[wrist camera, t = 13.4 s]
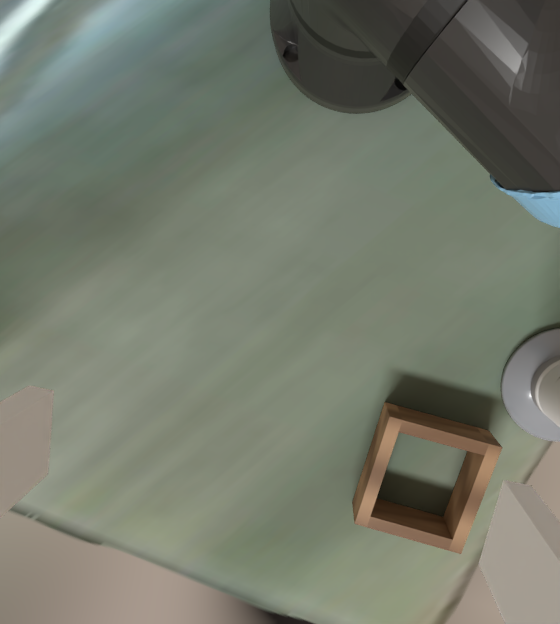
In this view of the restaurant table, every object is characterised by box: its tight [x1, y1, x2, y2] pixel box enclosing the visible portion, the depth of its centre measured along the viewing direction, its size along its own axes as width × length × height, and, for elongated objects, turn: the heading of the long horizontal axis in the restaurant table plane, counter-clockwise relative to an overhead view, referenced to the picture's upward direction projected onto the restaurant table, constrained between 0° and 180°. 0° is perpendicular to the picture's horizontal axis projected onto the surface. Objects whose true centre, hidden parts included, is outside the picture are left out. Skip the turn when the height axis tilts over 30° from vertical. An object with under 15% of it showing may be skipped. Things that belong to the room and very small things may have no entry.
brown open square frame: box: [352, 402, 502, 554], centre depth 45 cm, size 11×10×4 cm
